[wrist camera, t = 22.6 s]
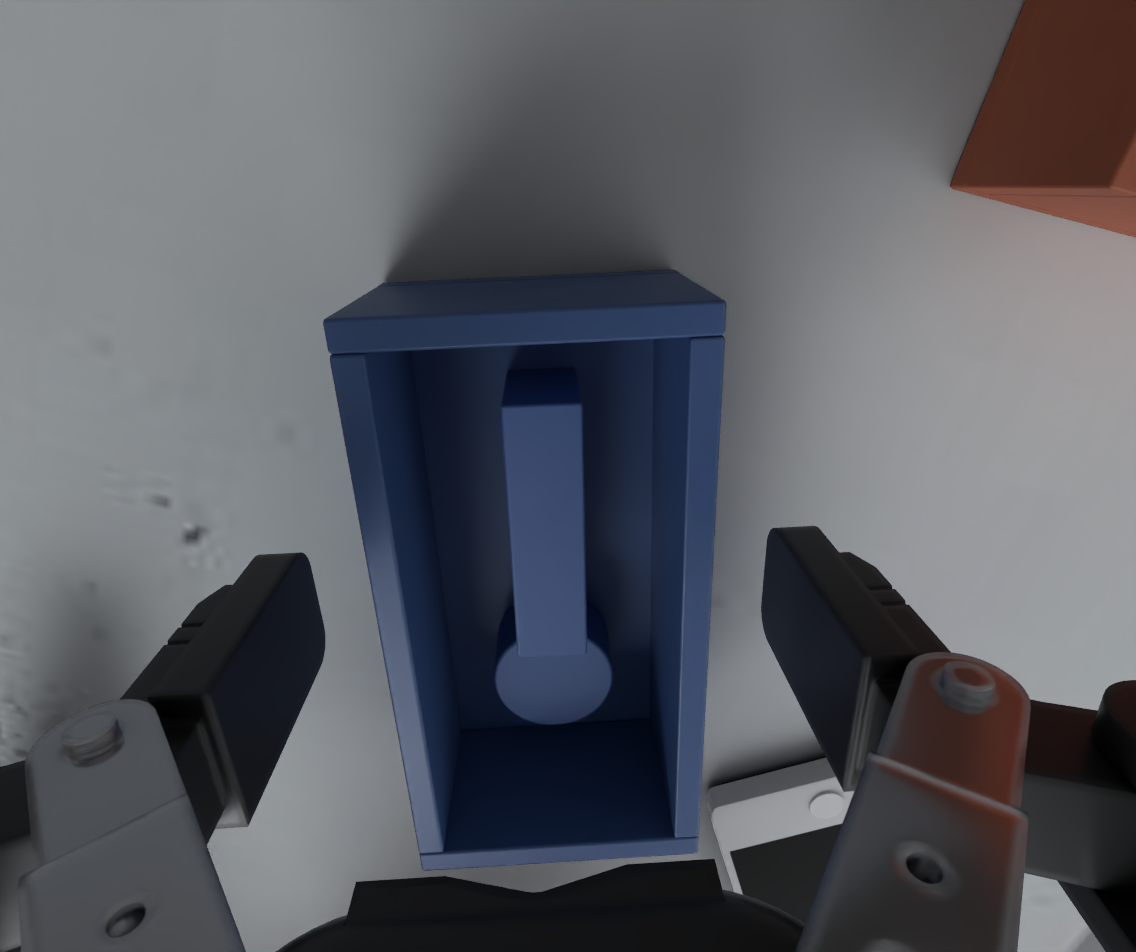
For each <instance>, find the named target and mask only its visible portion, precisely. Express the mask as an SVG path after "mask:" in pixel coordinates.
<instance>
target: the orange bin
mask: <svg viewBox="0 0 1136 952" xmlns="http://www.w3.org/2000/svg"><path fill="white" fill-rule="evenodd" d="M950 187H951V188H952V189H955V190H959V191H963V192H967V193H970V194H974V195H978V196H982V197H985V198H989V199H993V200H997V201H1001V202H1004V203H1008V204H1012V205H1016V206H1019V207H1023V208H1027V209H1031V210H1035V211H1038V212H1042V213H1046V214H1050V215H1053V216H1057V217H1061V218H1065V219H1069V220H1072V221H1076V222H1080V223H1084V224H1087V225H1091V226H1095V227H1099V228H1103V229H1106V230H1110V231H1114V232H1118V233H1121V234H1125V235H1129V236H1133V237H1136V0H1025V3H1024V5H1023V8H1022V10H1021V13H1020V15H1019V18H1018V20H1017V23H1016V25H1015V27H1014V30H1013V32H1012V35H1011V37H1010V40H1009V42H1008V45H1007V47H1006V49H1005V52H1004V54H1003V57H1002V59H1001V62H1000V64H999V67H998V69H997V72H996V74H995V76H994V79H993V81H992V84H991V86H990V89H989V91H988V94H987V96H986V98H985V101H984V103H983V106H982V108H981V111H980V113H979V116H978V118H977V121H976V123H975V125H974V128H973V130H972V133H971V135H970V138H969V140H968V143H967V145H966V147H965V150H964V152H963V155H962V157H961V160H960V162H959V165H958V167H957V170H956V172H955V174H954V177H953V179H952V182H951V184H950Z"/></svg>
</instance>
